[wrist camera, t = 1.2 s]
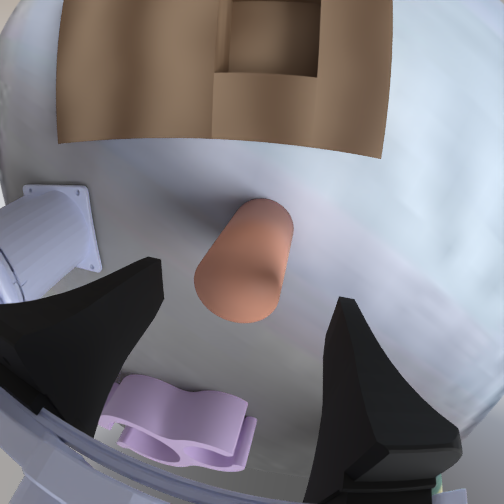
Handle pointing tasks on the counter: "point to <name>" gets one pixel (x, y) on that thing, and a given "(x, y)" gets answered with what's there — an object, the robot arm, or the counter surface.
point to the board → (226, 71)
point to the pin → (247, 263)
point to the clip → (180, 424)
